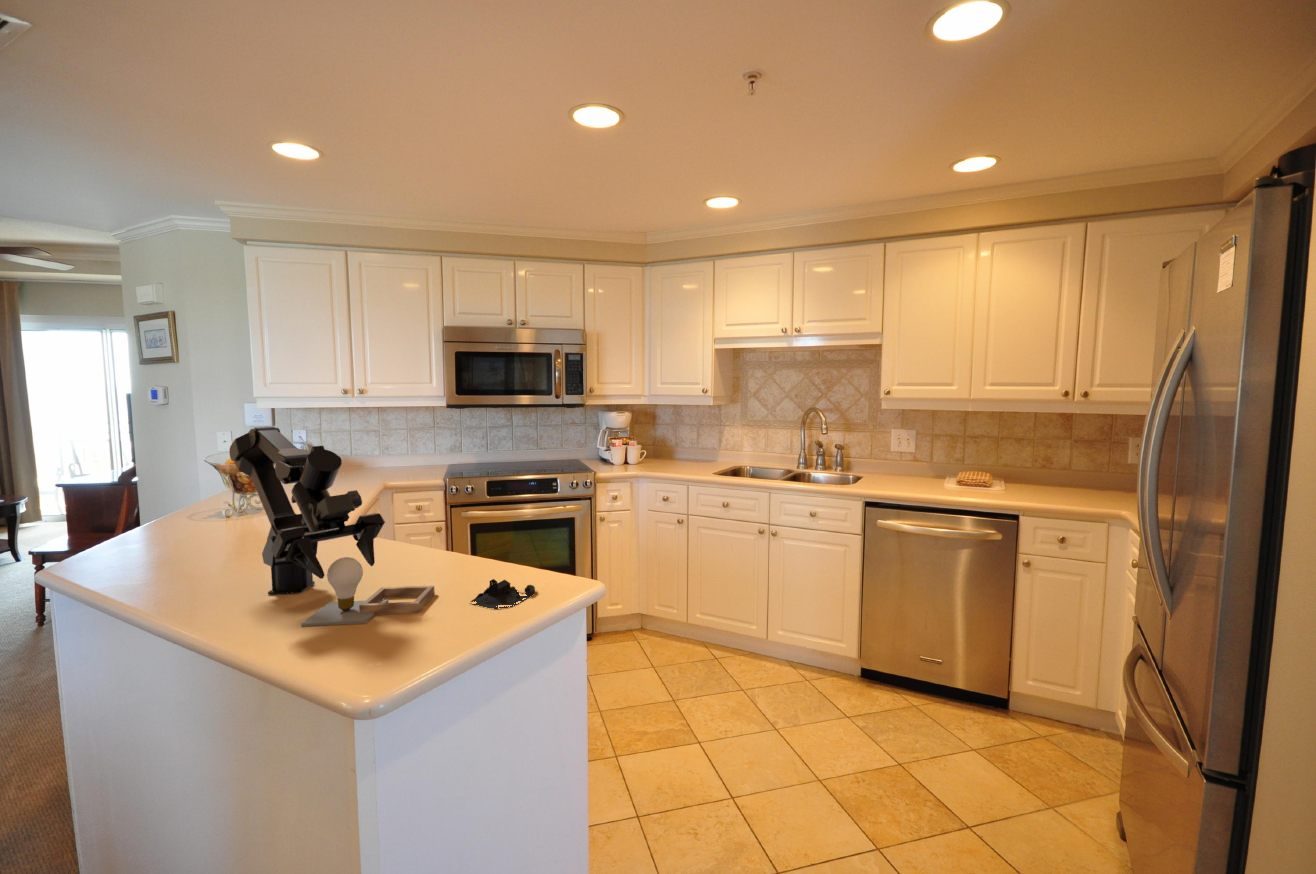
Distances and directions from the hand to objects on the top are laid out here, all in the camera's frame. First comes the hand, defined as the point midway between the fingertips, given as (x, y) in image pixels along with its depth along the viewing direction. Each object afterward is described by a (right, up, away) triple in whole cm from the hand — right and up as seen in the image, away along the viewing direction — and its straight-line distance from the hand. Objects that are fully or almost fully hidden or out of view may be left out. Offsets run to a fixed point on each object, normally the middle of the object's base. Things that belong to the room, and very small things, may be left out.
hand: (348, 570), depth 109 cm
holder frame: (+7, -8, +6) cm, 12 cm away
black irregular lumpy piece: (+26, -8, +9) cm, 29 cm away
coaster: (-1, -8, +1) cm, 8 cm away
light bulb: (-1, -8, +1) cm, 8 cm away
